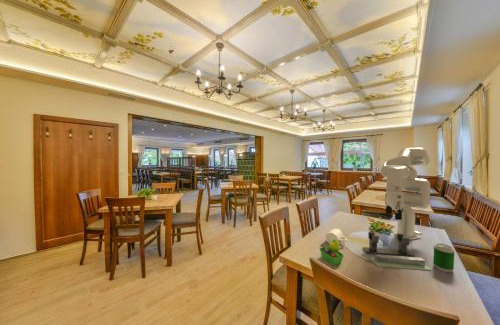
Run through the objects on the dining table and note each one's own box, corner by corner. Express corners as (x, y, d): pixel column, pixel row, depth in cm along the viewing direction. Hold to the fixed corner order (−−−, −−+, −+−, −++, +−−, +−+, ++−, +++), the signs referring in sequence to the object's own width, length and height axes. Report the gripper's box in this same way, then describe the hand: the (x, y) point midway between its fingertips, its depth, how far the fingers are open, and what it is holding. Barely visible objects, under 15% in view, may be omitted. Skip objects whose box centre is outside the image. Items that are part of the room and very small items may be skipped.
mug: (325, 242, 131) (325, 231, 131) (331, 238, 139) (331, 227, 138) (344, 248, 123) (344, 236, 123) (349, 243, 131) (349, 231, 130)
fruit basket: (318, 256, 114) (318, 237, 113) (330, 254, 117) (331, 235, 116) (333, 267, 103) (333, 246, 102) (346, 264, 106) (346, 243, 105)
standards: (407, 252, 119) (407, 234, 119) (414, 257, 113) (415, 238, 112) (362, 248, 123) (363, 231, 123) (367, 253, 117) (367, 235, 116)
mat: (420, 262, 108) (420, 261, 108) (431, 270, 100) (431, 269, 100) (370, 258, 112) (370, 257, 112) (377, 266, 104) (377, 265, 104)
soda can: (455, 274, 97) (457, 251, 96) (435, 270, 101) (436, 247, 100) (450, 267, 103) (451, 245, 103) (431, 263, 107) (432, 241, 107)
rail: (421, 263, 106) (421, 257, 106) (425, 266, 103) (425, 260, 103) (374, 259, 110) (374, 254, 110) (377, 262, 107) (377, 257, 107)
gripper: (411, 191, 106) (410, 222, 107) (392, 185, 123) (391, 212, 124) (395, 191, 107) (395, 221, 108) (379, 185, 124) (379, 211, 126)
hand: (393, 216), depth 116 cm, fingers open, 9 cm apart
